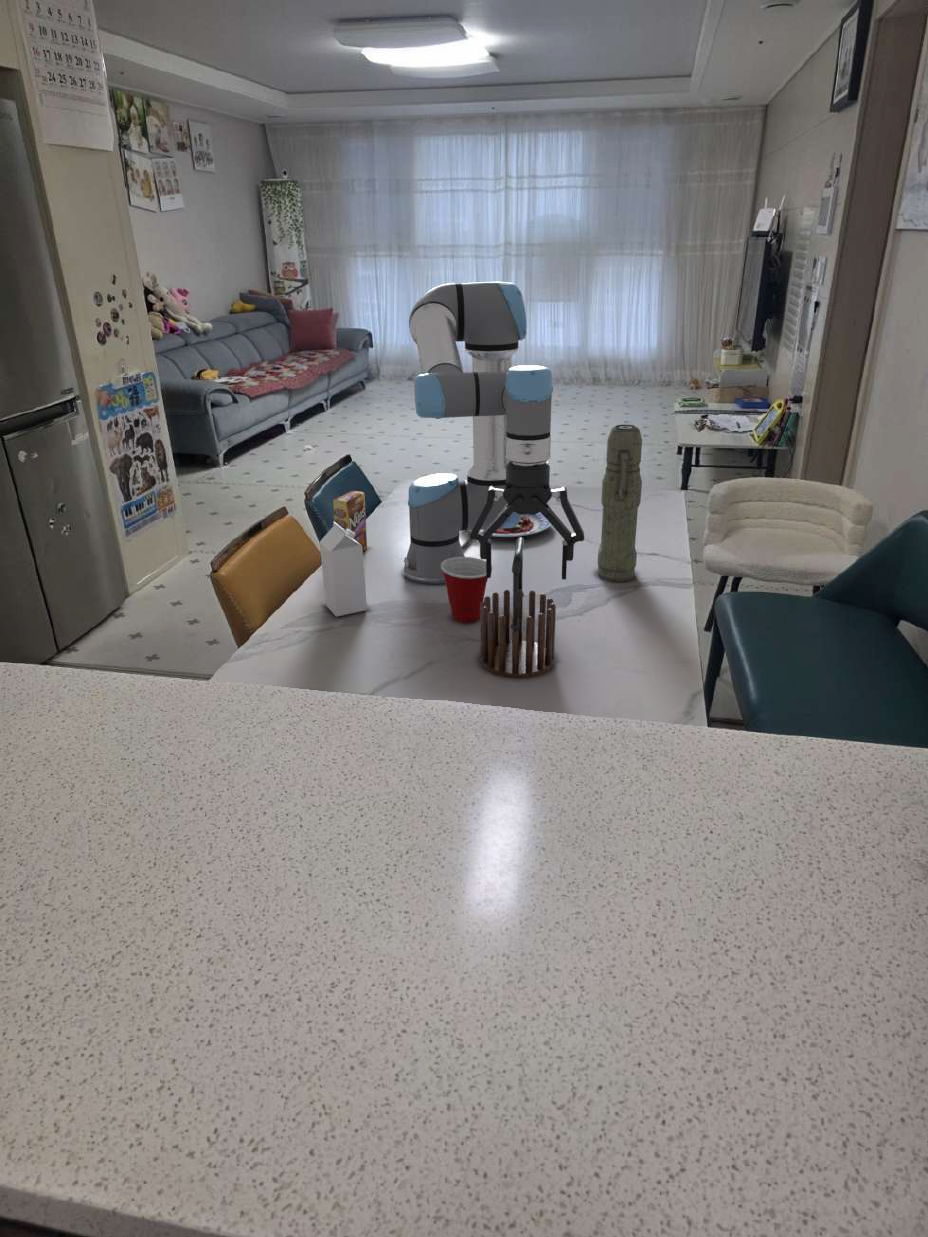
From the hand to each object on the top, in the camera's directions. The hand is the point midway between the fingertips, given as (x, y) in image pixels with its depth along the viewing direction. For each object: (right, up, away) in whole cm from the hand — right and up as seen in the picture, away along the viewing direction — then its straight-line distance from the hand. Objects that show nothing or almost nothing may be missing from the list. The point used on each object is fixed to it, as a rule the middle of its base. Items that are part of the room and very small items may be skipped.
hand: (526, 576), depth 150 cm
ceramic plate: (0, +17, +79) cm, 80 cm away
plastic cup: (-11, -8, +26) cm, 29 cm away
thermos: (+25, +3, +46) cm, 52 cm away
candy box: (-40, +9, +63) cm, 75 cm away
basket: (-8, -5, +4) cm, 11 cm away
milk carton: (-37, -6, +31) cm, 49 cm away
